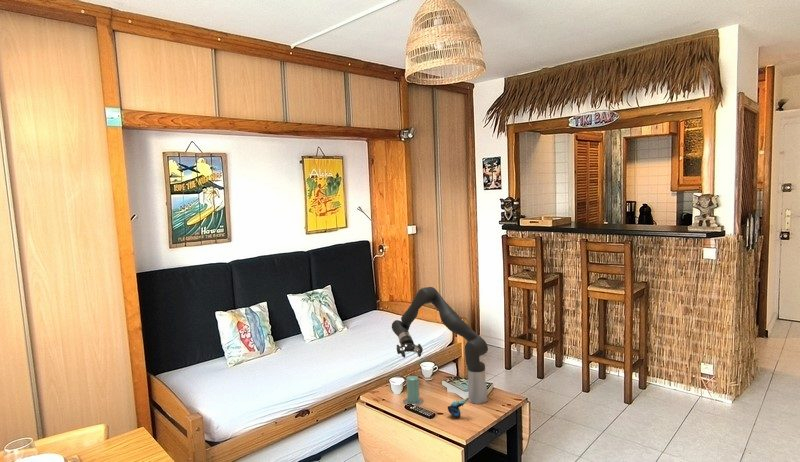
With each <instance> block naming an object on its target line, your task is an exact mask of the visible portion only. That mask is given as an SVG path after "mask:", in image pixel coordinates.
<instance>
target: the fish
mask: <svg viewBox="0 0 800 462" xmlns="http://www.w3.org/2000/svg"><path fill="white" fill-rule="evenodd" d="M467 401H469V398H464V399H461V400H457V399H456V400H454V401H453V402H451V404H450V405H448V406H447V411H448V413H449V414H450V415H451V416H452V417H454V418H455V419H460V417H461V409H460V407H464V405H466V403H467Z"/></svg>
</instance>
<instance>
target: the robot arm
mask: <svg viewBox="0 0 800 462" xmlns="http://www.w3.org/2000/svg"><path fill="white" fill-rule="evenodd" d="M426 304H432V305H433V306H434V307H435V308H436V310H437V311H438V314H439V318H440V321H441V323H442V324H443V325H444V326H445V327H446V328H447V329H448V330H449V332H452V333H454V334H456V335H458V336H461V337H462V338H464V339H465V340H466V341H467V342H465V345H464V357H465V365H466V367H467V382H468V383H467V387H468V389H467V391H468V402H469V403H471V404H475V405H482V404H484V403H487V402H488V385H487V383H486V365H485V363H484V362H483V361H480V357H482V356H484V355H486V354H487V353H488V351H489V347H488V346H489V345H488V344H487V342H486V341H485V339H483V338H482V336H480V335H479V334H478V333H477V332H475V331H474V330H473V329H472V328H471V327H470V326H469V325H468V323H466V322H465V321H464V320H463V319H462V318H461V317H460V315H459V314H458V313H457V312H456V311H455V310H454V309H453V308H452V307H451V306H450V305H449V304H448V303H447V301H445V299H444V298H443V296H442V295H441V294H440V293H439V291H438V290H437V289H436V288H434V287H433V286H428V287H421V288H419V289H418V291H417V292H416V294H415V297H414V298H413V300H412V302H411V303H410V306H408V308H407V310H406V311H405V312H404V313H403V314H402V316H401V318H400V320H398V319H396V320H393V322H392V323H391V330H392V332H393V334H394V335H396V336H397V339H398V343H399V344H396V353H397V355H401V357H402V358H403V359H404V358H406V353H407V352H408V353H409V352H410V353H411V352H412V353H414V354H417V357H419V358H420V357H421V356H422V353H423V350H424V349H423V346H422V345H421V343H418V344H415V342H414V340H413V338H412V335H411V334H410V332H409V329H410V327H411V324H412V323H413V322H414V320H416V318H417V316H418V315H419V310H420V309H421V308H422V307H423V306H424V305H426Z"/></svg>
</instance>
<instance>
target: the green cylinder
mask: <svg viewBox="0 0 800 462" xmlns="http://www.w3.org/2000/svg"><path fill="white" fill-rule="evenodd" d="M419 381H420V380H419V376H418V375H408V376H407V377H406V398H407V401H408V403H410V404H416V403H419V398H420V384H419Z"/></svg>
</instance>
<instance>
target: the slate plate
mask: <svg viewBox="0 0 800 462" xmlns="http://www.w3.org/2000/svg"><path fill="white" fill-rule="evenodd" d="M402 403H403V404H404V405H406V404H410V403H408V401H407V397H406V398H404V399H403V401H402ZM422 404H424V399H423V398H421V397H419V403H416V404H412V405H414V406H413V407H417V406H421V405H422ZM406 406H407V405H406Z"/></svg>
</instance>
